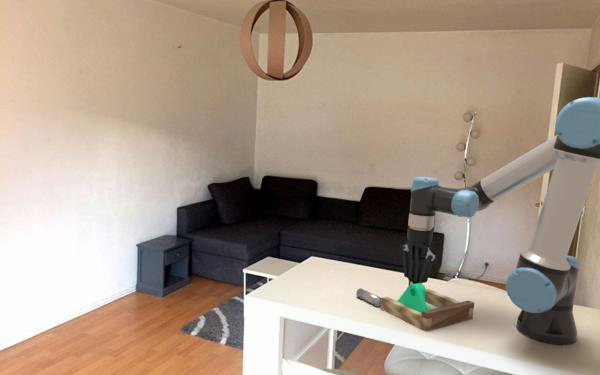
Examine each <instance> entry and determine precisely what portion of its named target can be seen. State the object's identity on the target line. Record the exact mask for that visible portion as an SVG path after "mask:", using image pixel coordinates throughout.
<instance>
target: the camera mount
mask: <svg viewBox="0 0 600 375" xmlns="http://www.w3.org/2000/svg"><path fill="white" fill-rule="evenodd" d="M426 289H427V288H426V286H425V285H424V284H423V283H417V284H412V285H409V284H408V286H407V287H406V289H405V290H404V291H403V293H402V295H400V297H399V299H398V300H396V301H397V302H399V303H402V304H404V305H406V306H408V307H410V308H412V309H414V310H416V311H419V312H421V313H422V311H425V310H430V309H434V307H432V306H429V305H427V303H426V301H425V299H424V297H425V296H426Z"/></svg>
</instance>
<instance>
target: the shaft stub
mask: <svg viewBox="0 0 600 375" xmlns="http://www.w3.org/2000/svg"><path fill="white" fill-rule="evenodd" d="M355 294H356V295H355V296H356V297H358V298H359V299H361V300H363V301H364V302H365V301H366V302H367V303H369V304H371V305H374V306H375V307H376V308H381V302H382V297H380V296H378V295H376V294H375V293H372V292H370V291H368V290H365V289H364V288H361V287H360V288H358V289H357V291H356V293H355Z"/></svg>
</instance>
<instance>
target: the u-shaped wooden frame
mask: <svg viewBox="0 0 600 375" xmlns="http://www.w3.org/2000/svg"><path fill="white" fill-rule="evenodd" d="M381 298H382V302H381V307H380V309H382V310H383V311H385V312H386V313H388V314H391V315H393V316H395V317H396V318H399V319H400V320H403V321H404V322H407V323H409V324H410V325H413V326H415V327H417V328H418V329H420V330H422V331H425V332H428V331H432V330H436V329H439V328H444V327H447V326H450V325H451V326H452V325H455V324H458V323H462V322H467V321H470V320H473V319H474V318H473V316H474V312H475V310H474V309H475V302H474V301H471V300H465V301H458V300H457V299H455V298H452V297H449V296H447V295H445V294H441V293H440V292H437V291H434V290H432V289H430V288H426V296H425V297H424V299H425V302H427V303H428V304H431V305H433V306H435V308H434V307H433V308H434V309H430V310H425V311H422V313H421V312H419V311H416V310H414V309H412V308H410V307H408V306H406V305H404V304H402V303H399V302H397V301H398V300H396V299H395V300H394V299H393V298H390V297H389V296H383V297H381Z"/></svg>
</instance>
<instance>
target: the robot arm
mask: <svg viewBox="0 0 600 375" xmlns="http://www.w3.org/2000/svg"><path fill="white" fill-rule="evenodd" d="M555 131H556V135H555V136H553V137H551V138H550V139H548V140H546V141H545V142H543V143H541V144H539V145H538V146H536V147H535V148H532V149H531V150H529V151H528V152H525V153H524V154H523V155H520V156H519V157H517V158H516V159H514V160H513V161H510V162H509V163H507V164H506V165H504V166H502V167H501V168H499V169H498V170H495V171H494V172H492V173H490V174H489V175H487V176H485V177H484V178H482V179H480V180H479V181H477V182H475V183H474V184H472V185H470V186H467V187H458V188H456V187H454V188H452V187H445V186H441V185H439V184H440V183H439V179H438V178H435V177H431V176H428V177H427V176H416V177H414V178H413V180H412V185H411V189H410V193H411V194H410V205H409V213H408V214H409V215H408V223H407V225H408V227H407V234H406V238H407V241H406V244H402V245H401V246H400V250H401V253H402V266H403V268H402V269H403V276H404V277H405V278H407V279H408V286H409V285H412V284H417V283H421V284H423V283H424V284H425V283H427V282H428V280H429V277H430V273H431V271H432V268H433V264H434V262H435V261H436V259H437V258H438V257H437V256H438V255H437V254H434V253H433V252H432V248H431V243H432V242H433V235H434V230H433V228H434V227H435V226H434V225H435V216H436V212H437V213H438V212H439V213H443V214H448V215H452V216H457V217H459V218H463V217H464V218H472V217H474V216H475V214H477V212H480V211H483V210H485V209H487V208H488V207H490V205H491V204H493V203H494V202H496V201H498V200H500V199H502V198H503V197H506V196H507V195H510V194H511V193H513V192H514V191H516V190H518V189H520V188H522V187H523V186H525V185H526V186H527V185H528V184H530V183H531V182H533V181H535V180H537V179H538V178H541V177H543V176H544V175H546V174H548V173H550V172H551V171H552V175H551V177H550V180H549V184H548V188H547V190H546V193H545V196H544V199H543V203H542V206H541V209H540V212H539V216H538V219H537V221H536V225H535V227H534V231H533V235H532V237H531V241H530V244H529V247H527V248H525V249H523V250H521V252H520V253H519V257H518V260H517V264H516V266H515V269H513V270H512V271H511V272H510V273H509V275H508V277H507V279H506V282H505V290H506V294H507V296H508V297H509V299H510V301H511V302H512V303H513V304H514V306H516V307H517V308H519V309H520V310H521V311H520V312H519V315H518V316H517V319H516V324H515V325H516V326H515V327H516V329H517V330H518V332H520V333H521V334H523V335H524V336H526V337H529V338H531V339H533V340H537V341H539V342H544V343H547V344H554V345H571V344H574V343H576V341H577V339H578V338H577V337H578V330H577V325H576V321H575V316H574V312H573V310H574V304H575V296H576V288H577V282H578V275H579V271H580V268H579V265H580V261H579V259H578V258H577V257H574V256H572V255H568V254H569V252H570V247H571V245H572V242H573V239H574V236H575V233H576V230H577V227H578V223H579V222H580V218H581V215H582V212H583V209H584V206H585V203H586V201H587V198H588V195H589V191H590V188H591V186H592V182H593V179H594V177H595V173H596V171H597V168H598V166H599V165H600V97H591V96H587V97H581V98H576V99H574V100H572V101H570V102H568V103H567V104H565V106H563V108H562V109H561V110H560V111H559V113H558V114H557V117H556V120H555Z"/></svg>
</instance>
